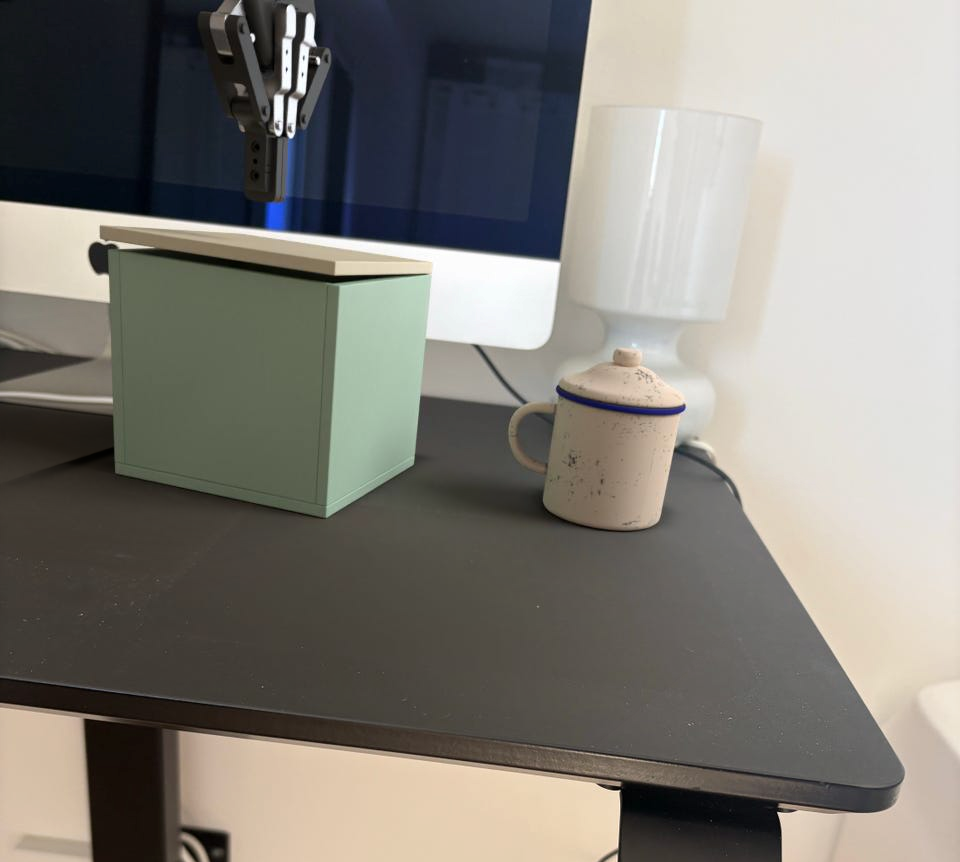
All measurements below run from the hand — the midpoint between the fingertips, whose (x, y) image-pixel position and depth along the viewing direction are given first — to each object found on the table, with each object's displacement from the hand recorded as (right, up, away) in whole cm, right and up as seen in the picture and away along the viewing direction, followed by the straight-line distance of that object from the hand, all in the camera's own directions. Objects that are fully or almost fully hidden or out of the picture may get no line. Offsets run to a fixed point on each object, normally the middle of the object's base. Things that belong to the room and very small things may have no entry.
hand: (264, 201), depth 63 cm
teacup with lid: (+21, -18, +10) cm, 30 cm away
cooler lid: (0, -2, +4) cm, 4 cm away
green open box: (-1, -15, +10) cm, 18 cm away
